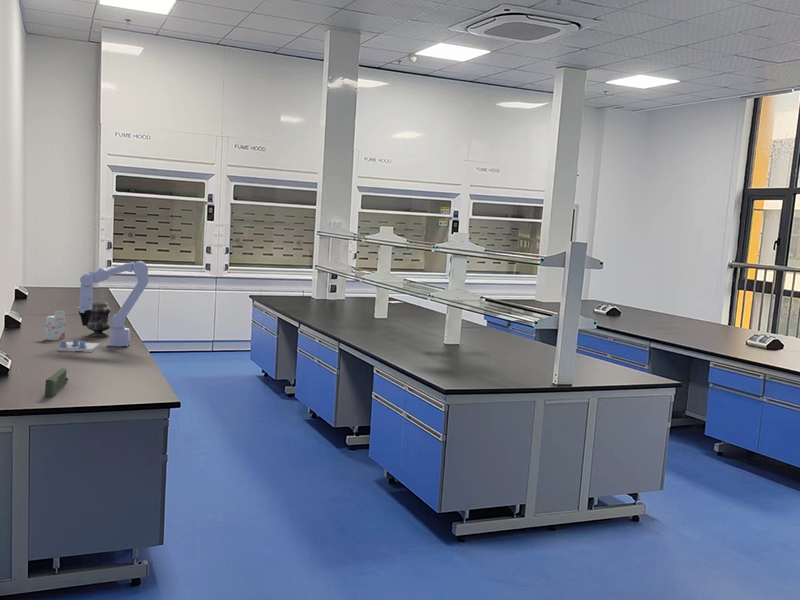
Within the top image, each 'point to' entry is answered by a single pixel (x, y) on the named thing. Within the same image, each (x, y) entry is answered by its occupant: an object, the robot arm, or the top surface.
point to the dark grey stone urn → (99, 319)
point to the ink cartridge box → (55, 326)
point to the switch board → (75, 348)
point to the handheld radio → (55, 382)
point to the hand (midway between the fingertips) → (85, 325)
